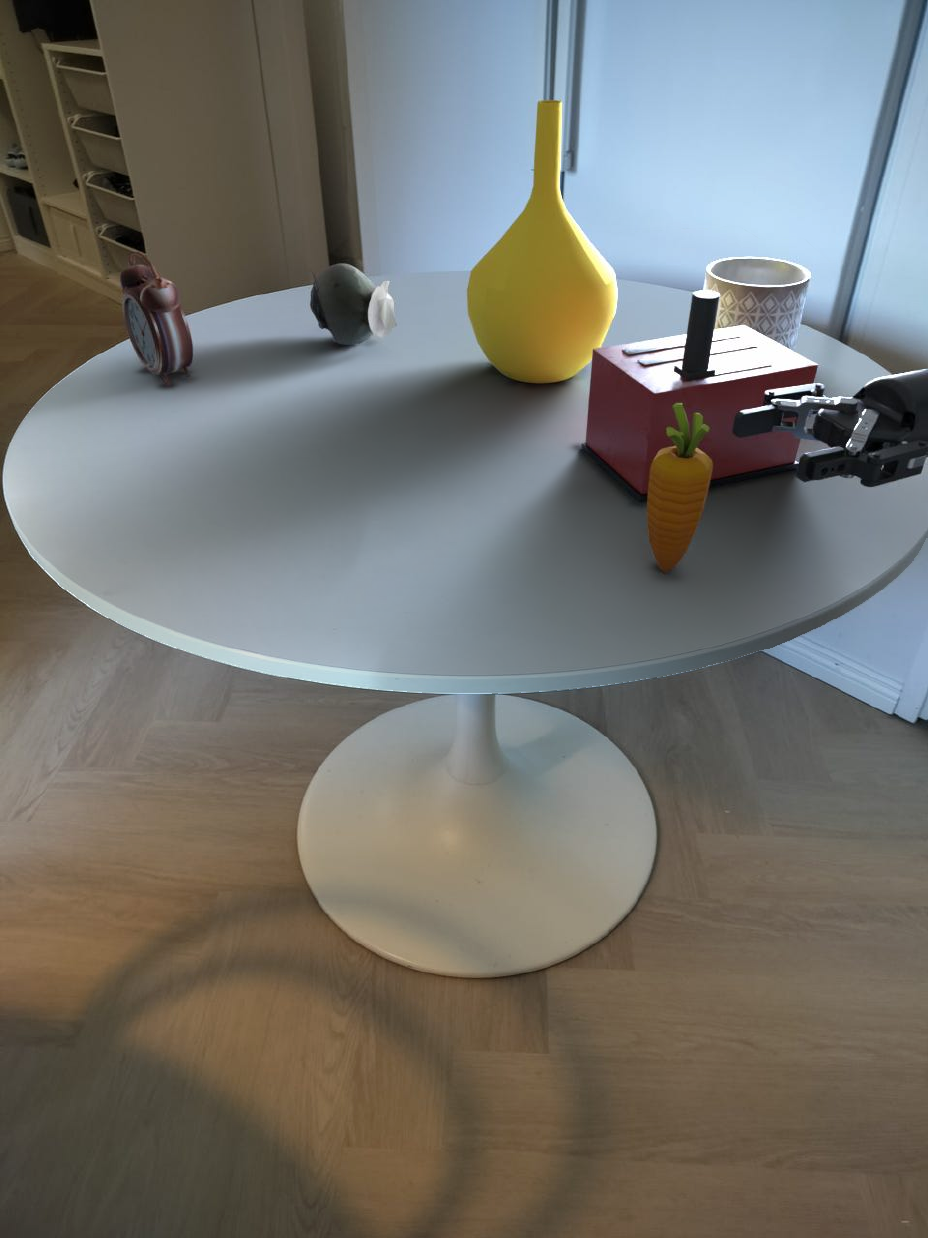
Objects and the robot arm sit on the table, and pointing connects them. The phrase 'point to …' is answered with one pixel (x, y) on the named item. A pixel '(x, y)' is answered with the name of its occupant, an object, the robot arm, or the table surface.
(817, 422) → the robot arm
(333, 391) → the table surface
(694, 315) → the slider
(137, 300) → the alarm clock
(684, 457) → the carrot
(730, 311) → the planter
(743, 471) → the knife block
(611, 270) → the vase
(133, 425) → the table surface
